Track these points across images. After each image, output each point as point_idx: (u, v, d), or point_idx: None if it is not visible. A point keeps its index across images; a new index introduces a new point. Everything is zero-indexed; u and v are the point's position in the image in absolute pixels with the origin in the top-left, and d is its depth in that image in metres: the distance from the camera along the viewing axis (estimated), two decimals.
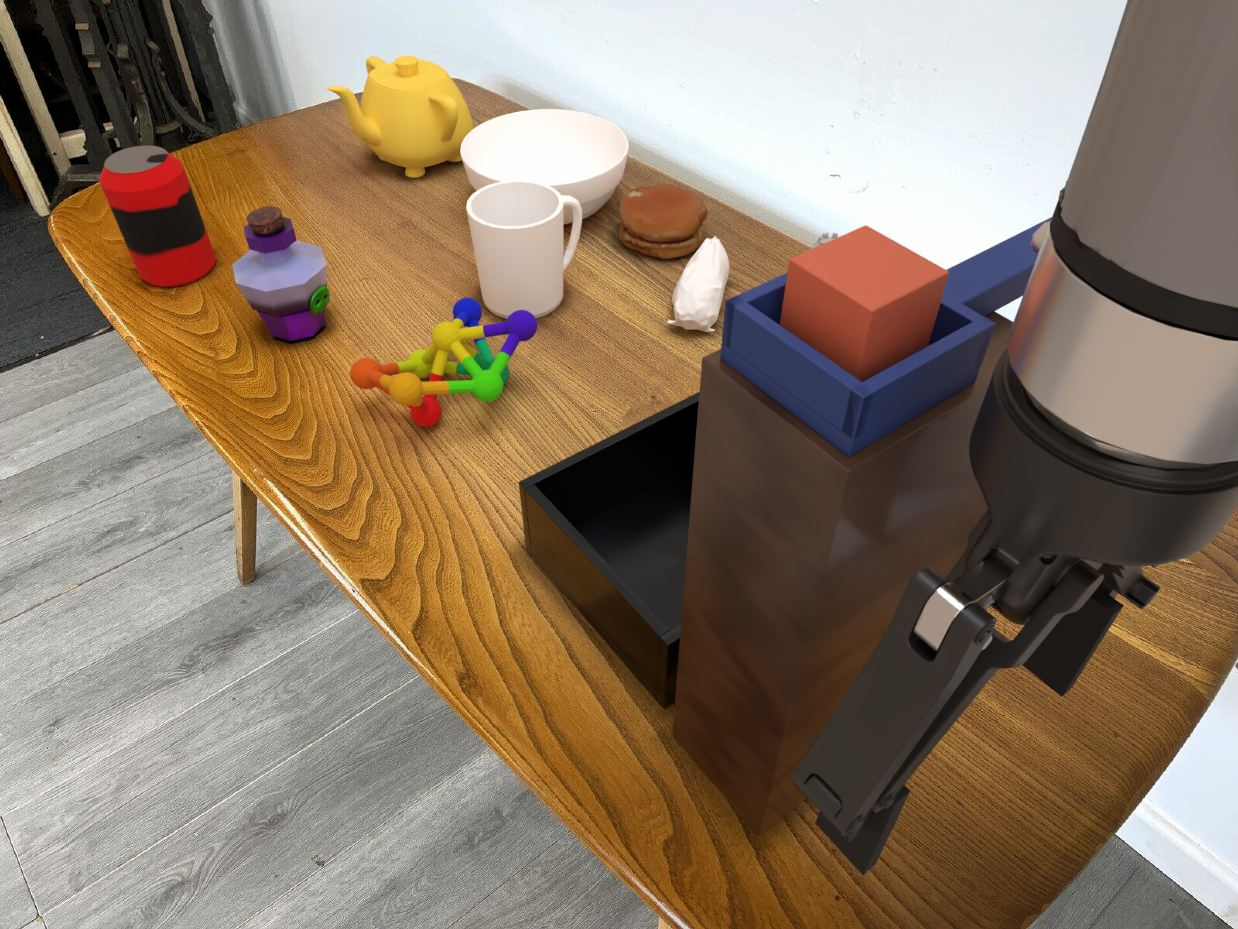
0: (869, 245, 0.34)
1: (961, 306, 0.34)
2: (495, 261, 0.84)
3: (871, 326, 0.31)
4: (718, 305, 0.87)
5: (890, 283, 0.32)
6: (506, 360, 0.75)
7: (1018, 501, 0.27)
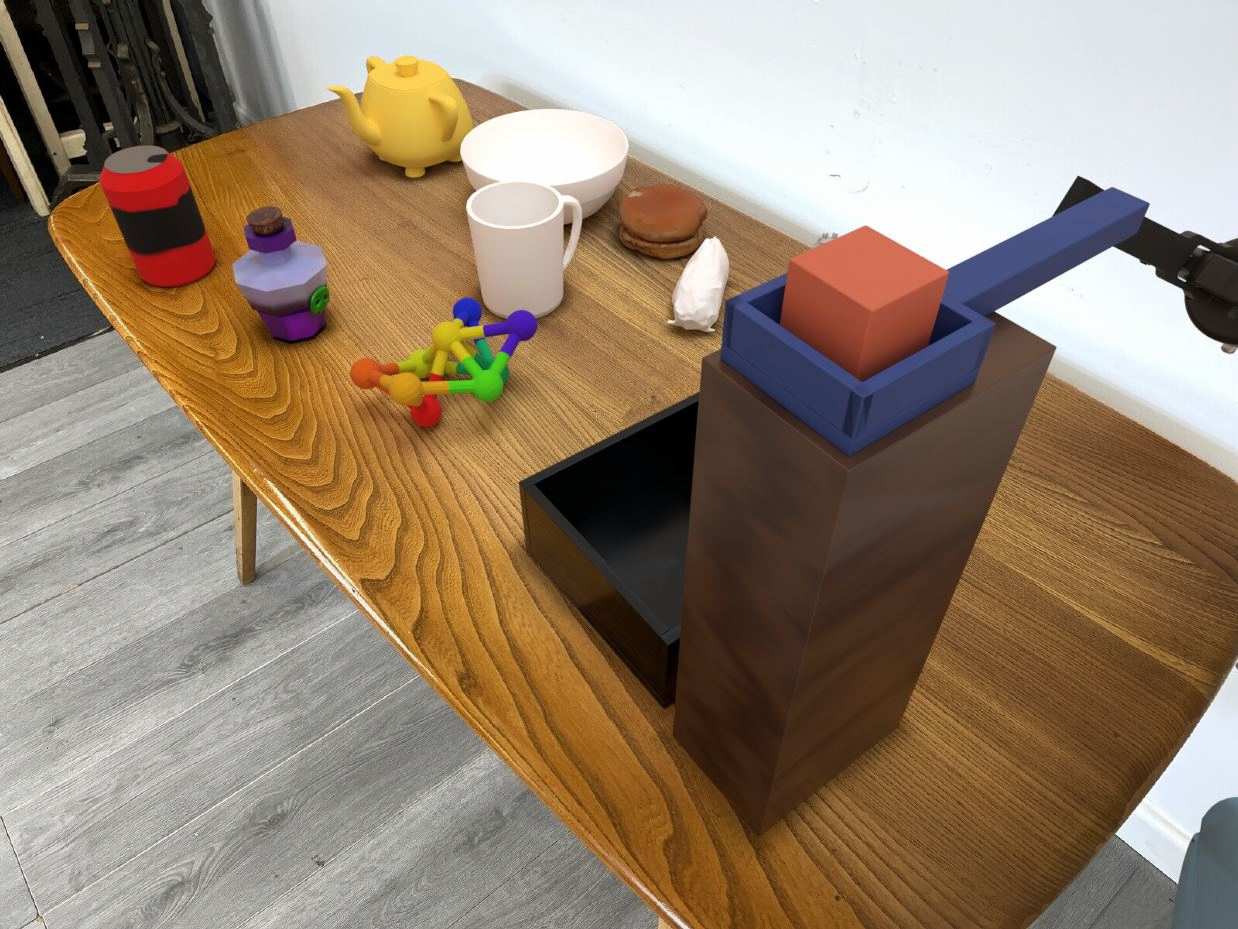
0: (869, 245, 0.34)
1: (961, 306, 0.34)
2: (495, 261, 0.84)
3: (871, 326, 0.31)
4: (718, 305, 0.87)
5: (890, 283, 0.32)
6: (506, 360, 0.75)
7: None
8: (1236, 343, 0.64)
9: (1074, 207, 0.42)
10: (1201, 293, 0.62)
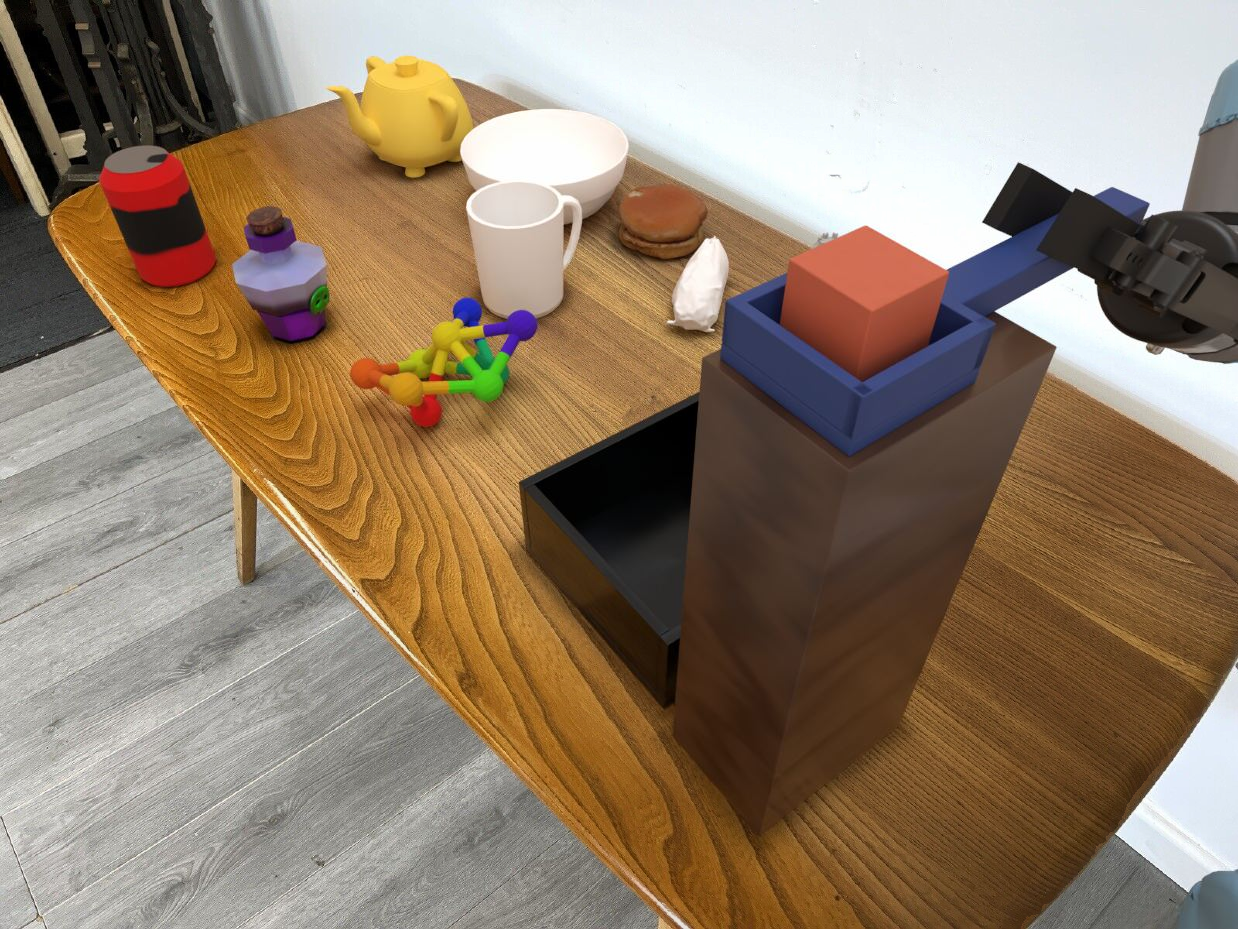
0: (869, 245, 0.34)
1: (961, 306, 0.34)
2: (495, 261, 0.84)
3: (871, 326, 0.31)
4: (718, 305, 0.87)
5: (890, 283, 0.32)
6: (506, 360, 0.75)
7: None
8: (1156, 341, 0.52)
9: None
10: None
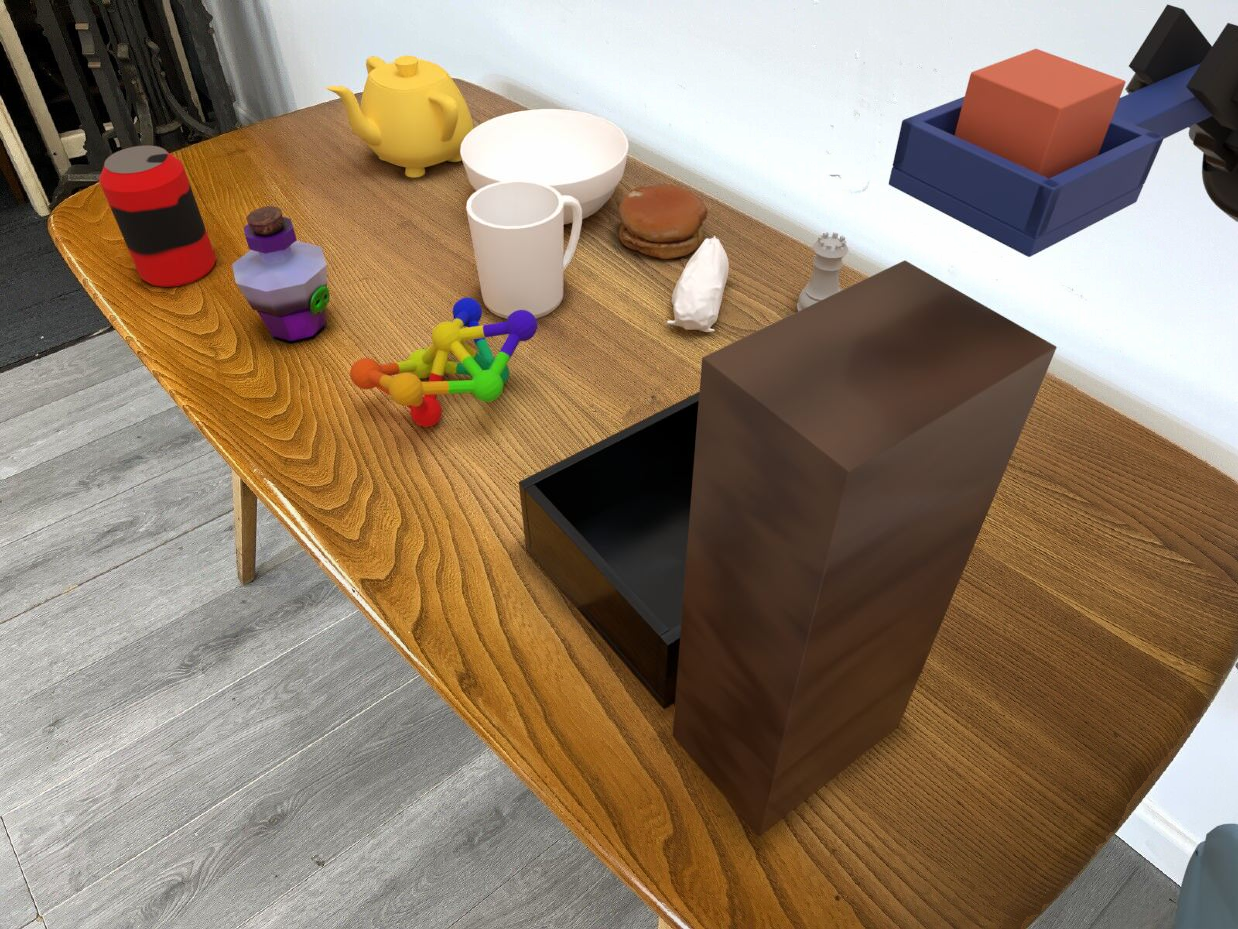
0: (1044, 62, 0.35)
1: (1128, 124, 0.36)
2: (495, 261, 0.84)
3: (1057, 126, 0.33)
4: (718, 305, 0.87)
5: (1072, 89, 0.34)
6: (506, 360, 0.75)
7: None
8: None
9: None
10: (1232, 160, 0.52)
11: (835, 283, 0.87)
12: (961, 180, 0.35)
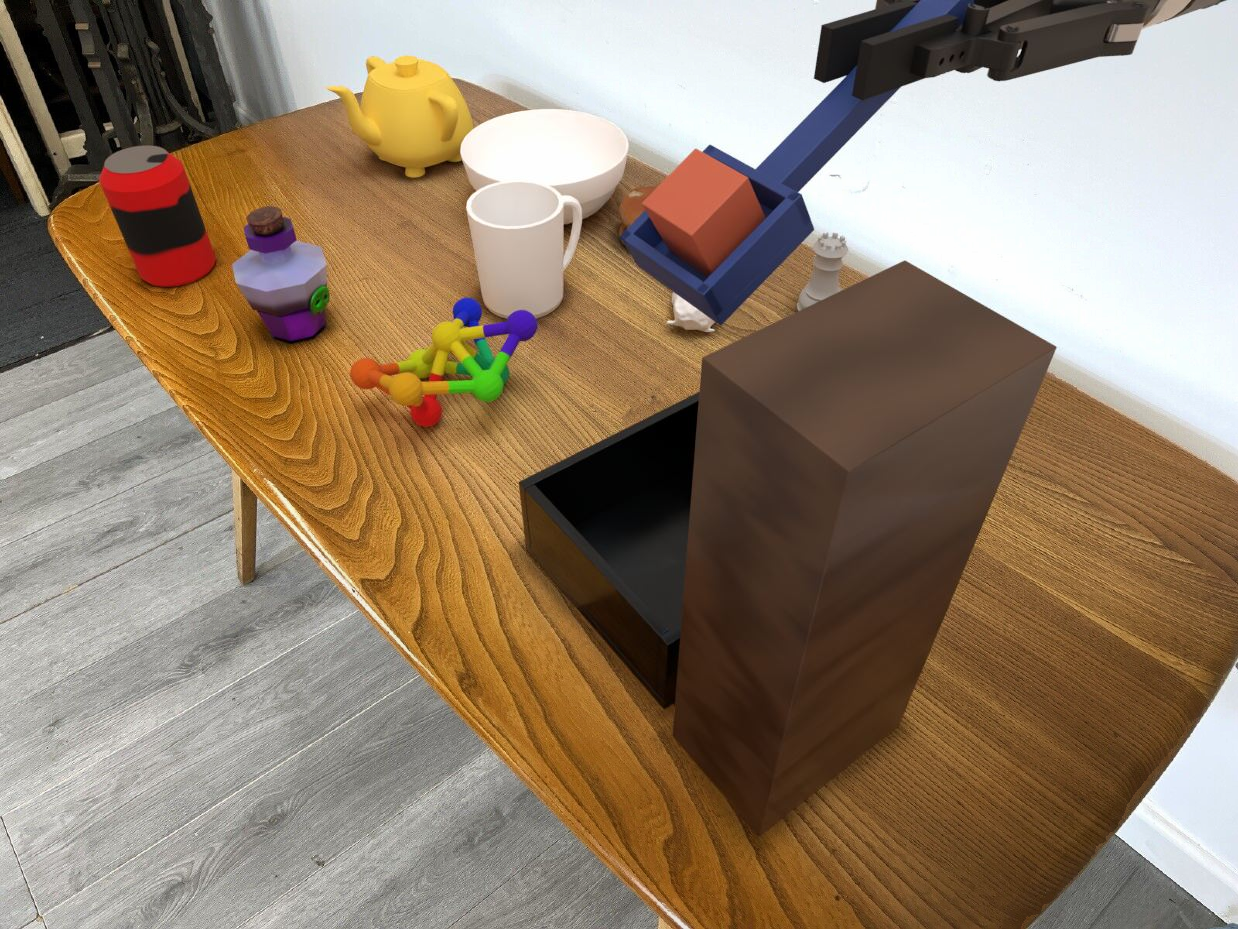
0: (695, 169, 0.46)
1: (779, 185, 0.46)
2: (495, 261, 0.84)
3: (697, 242, 0.45)
4: None
5: (705, 204, 0.45)
6: (506, 360, 0.75)
7: None
8: None
9: (903, 19, 0.49)
10: None
11: (835, 283, 0.87)
12: (665, 277, 0.48)
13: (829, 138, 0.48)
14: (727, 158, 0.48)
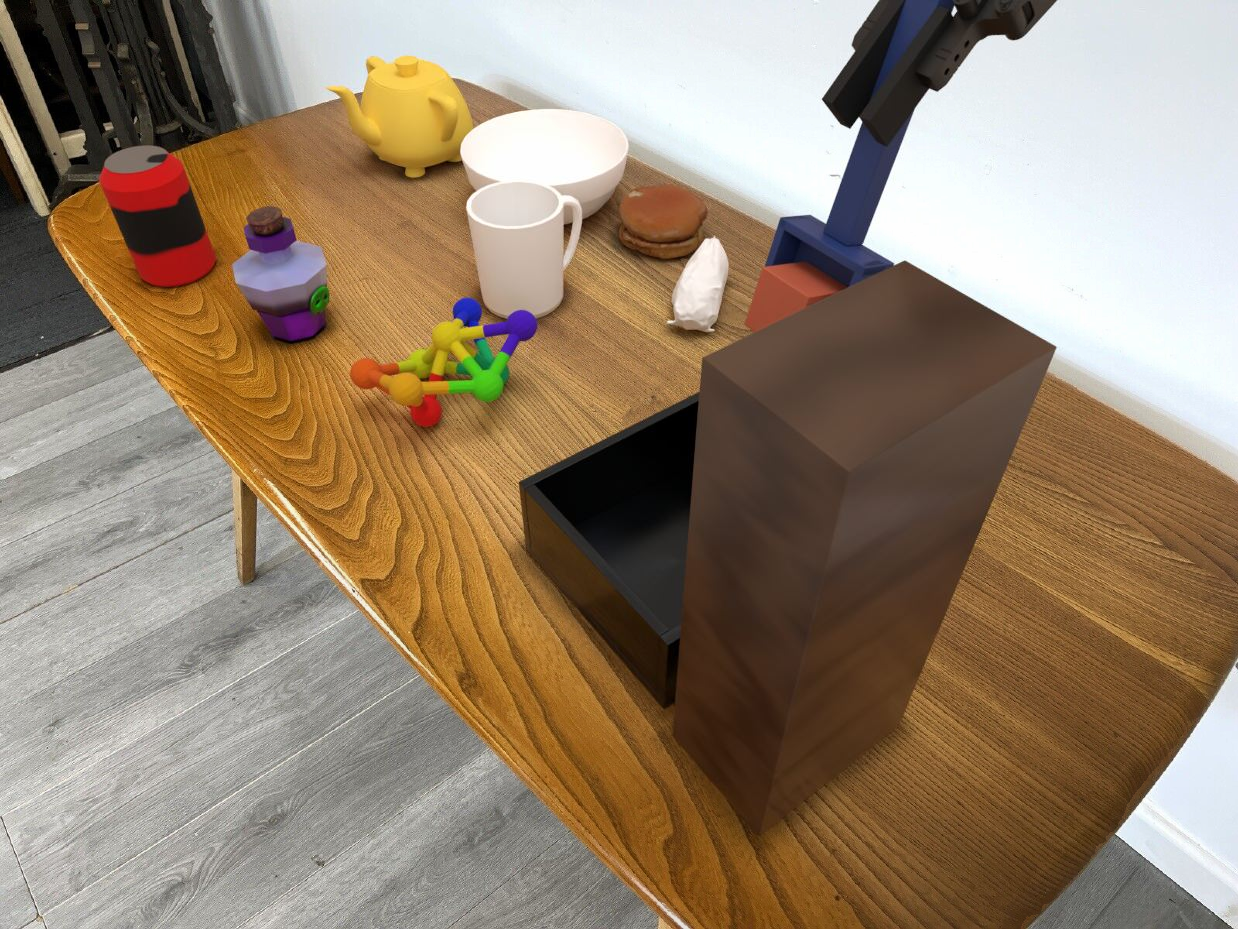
0: (770, 290, 0.56)
1: (845, 259, 0.53)
2: (495, 261, 0.84)
3: None
4: (718, 305, 0.87)
5: None
6: (506, 360, 0.75)
7: None
8: None
9: (898, 24, 0.49)
10: None
11: None
12: None
13: (874, 179, 0.52)
14: (798, 232, 0.55)
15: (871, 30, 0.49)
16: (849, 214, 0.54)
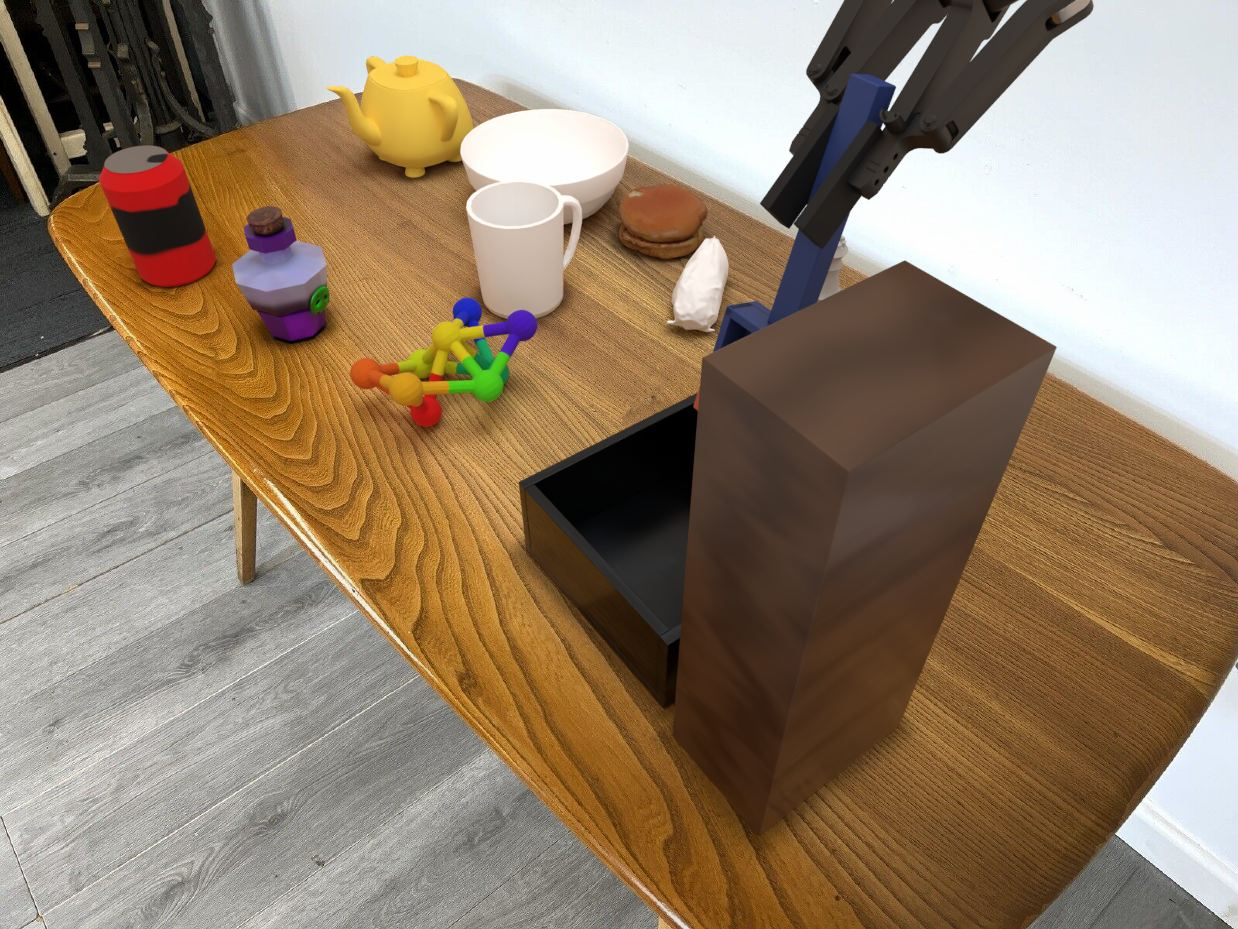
0: None
1: None
2: (495, 261, 0.84)
3: None
4: (718, 305, 0.87)
5: None
6: (506, 360, 0.75)
7: None
8: None
9: (832, 133, 0.51)
10: None
11: (835, 283, 0.87)
12: None
13: (813, 275, 0.54)
14: (743, 321, 0.57)
15: (806, 139, 0.51)
16: (791, 307, 0.56)
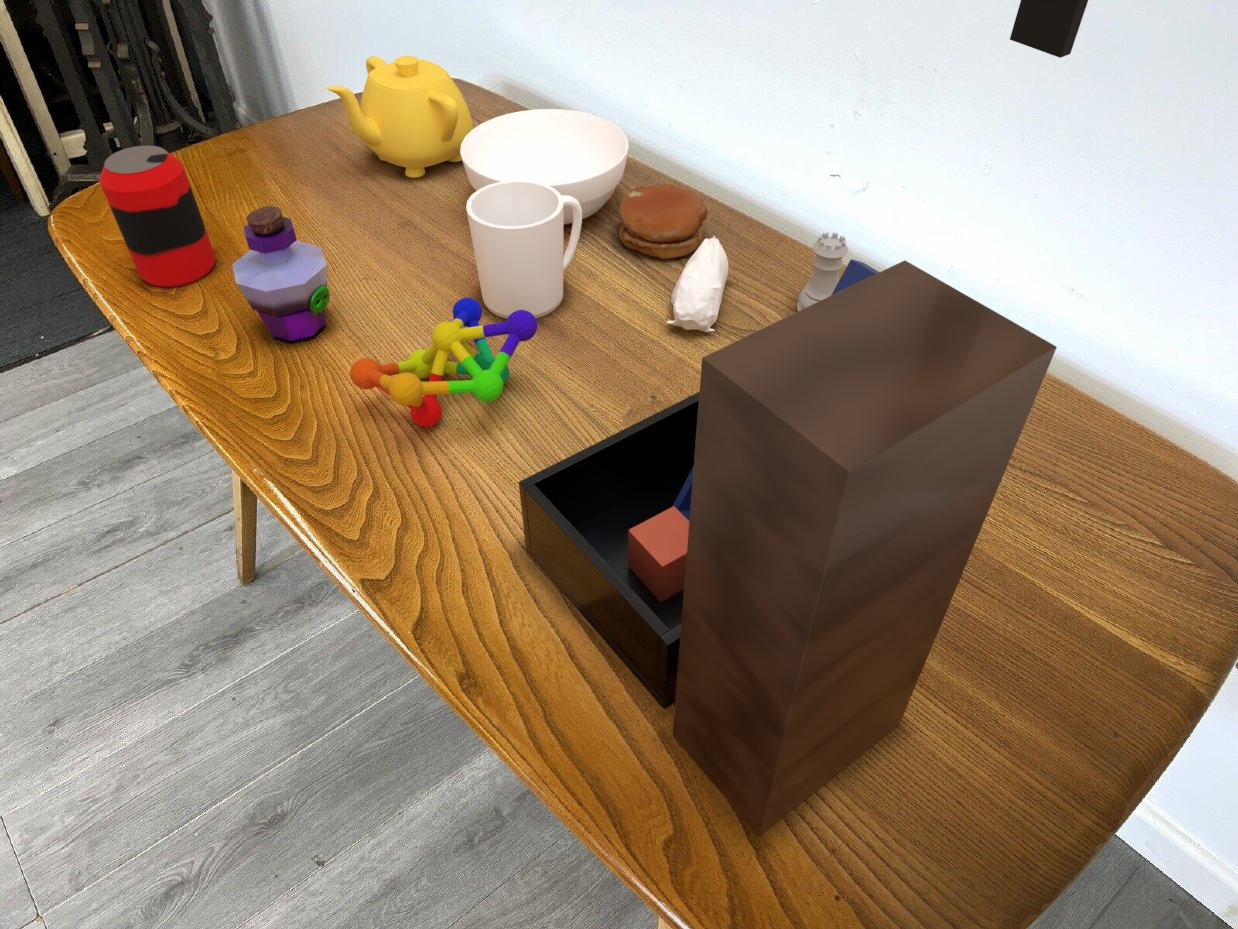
0: None
1: None
2: (495, 261, 0.84)
3: None
4: (718, 305, 0.87)
5: None
6: (506, 360, 0.75)
7: None
8: None
9: None
10: None
11: (835, 283, 0.87)
12: None
13: None
14: None
15: None
16: None
